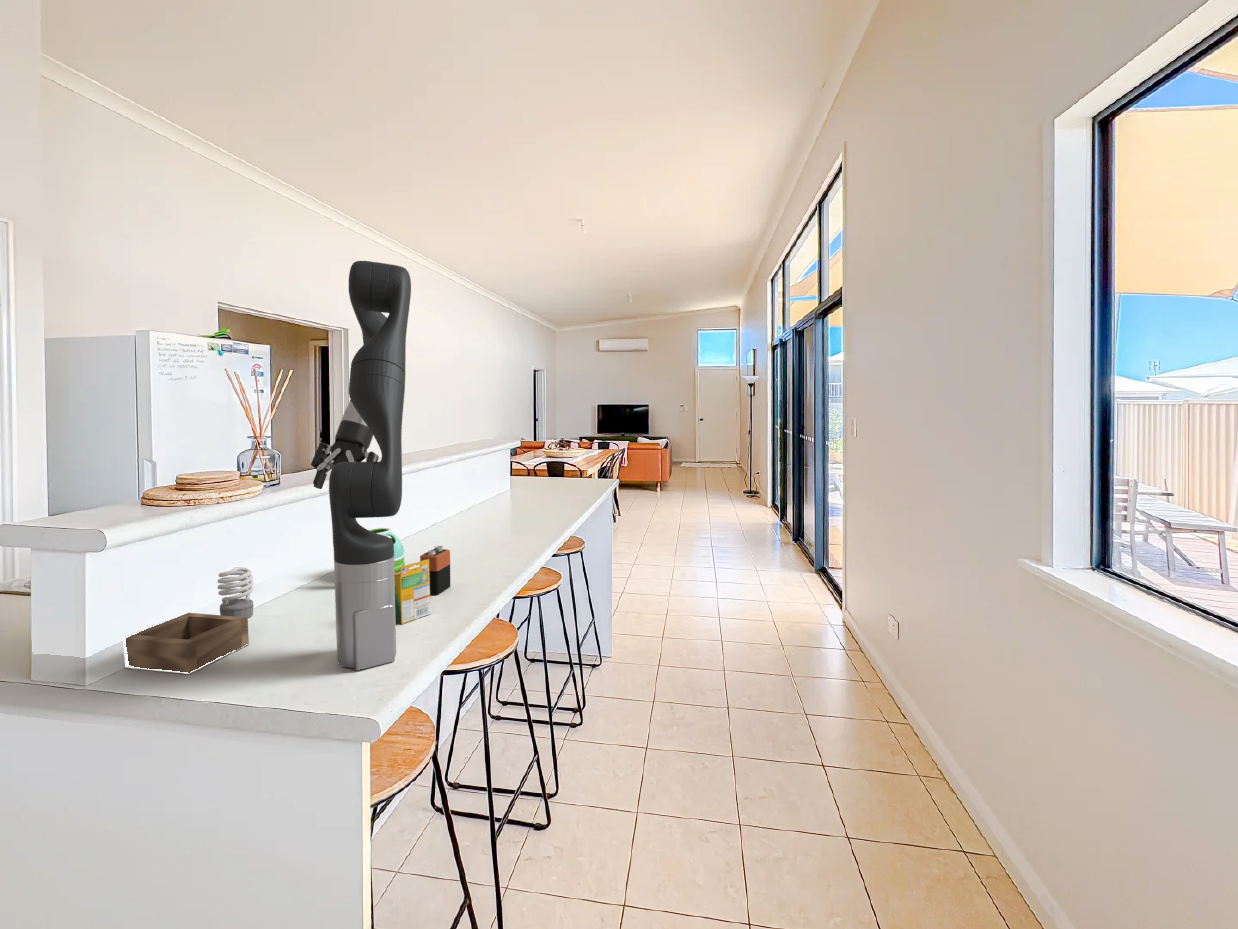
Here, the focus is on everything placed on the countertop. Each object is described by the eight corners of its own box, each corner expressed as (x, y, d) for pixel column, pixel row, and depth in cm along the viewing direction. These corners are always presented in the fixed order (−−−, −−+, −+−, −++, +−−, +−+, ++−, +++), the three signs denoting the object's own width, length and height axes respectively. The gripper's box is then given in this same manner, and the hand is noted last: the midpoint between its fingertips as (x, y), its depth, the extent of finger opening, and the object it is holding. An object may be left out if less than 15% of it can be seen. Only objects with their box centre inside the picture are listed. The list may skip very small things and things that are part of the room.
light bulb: (248, 622, 115) (246, 562, 114) (260, 630, 112) (257, 567, 110) (215, 631, 111) (212, 568, 110) (225, 638, 107) (222, 574, 106)
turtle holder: (323, 588, 138) (321, 538, 136) (375, 568, 155) (373, 523, 154) (368, 593, 134) (366, 542, 133) (416, 572, 152) (415, 527, 150)
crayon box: (421, 611, 123) (420, 556, 122) (431, 614, 121) (430, 558, 120) (391, 622, 117) (390, 564, 116) (401, 625, 115) (400, 566, 114)
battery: (451, 587, 140) (450, 545, 139) (437, 596, 133) (437, 552, 132) (434, 586, 141) (433, 544, 140) (419, 594, 134) (419, 551, 133)
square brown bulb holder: (248, 645, 105) (247, 617, 104) (188, 674, 93) (187, 644, 92) (190, 639, 107) (188, 612, 106) (124, 668, 95) (122, 638, 94)
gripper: (321, 414, 135) (296, 481, 130) (378, 424, 133) (354, 492, 128) (339, 426, 142) (315, 490, 138) (393, 436, 140) (371, 501, 135)
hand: (334, 491), depth 133 cm, fingers open, 8 cm apart
